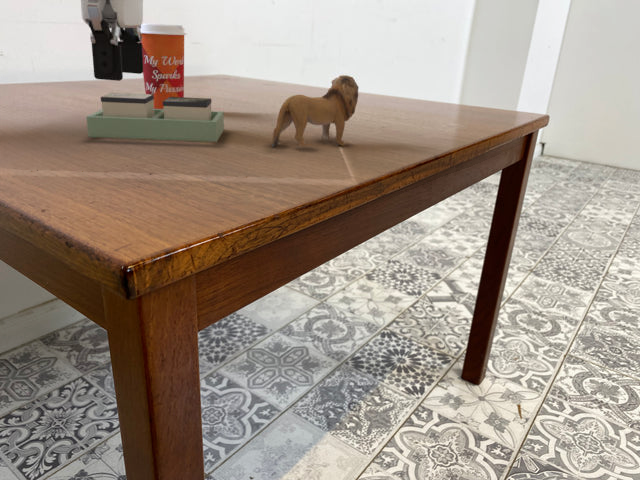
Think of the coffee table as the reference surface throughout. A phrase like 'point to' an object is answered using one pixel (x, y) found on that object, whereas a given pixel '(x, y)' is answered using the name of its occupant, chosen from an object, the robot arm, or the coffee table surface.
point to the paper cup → (163, 61)
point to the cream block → (128, 105)
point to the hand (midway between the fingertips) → (120, 75)
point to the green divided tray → (156, 127)
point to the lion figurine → (319, 111)
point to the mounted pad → (187, 108)
